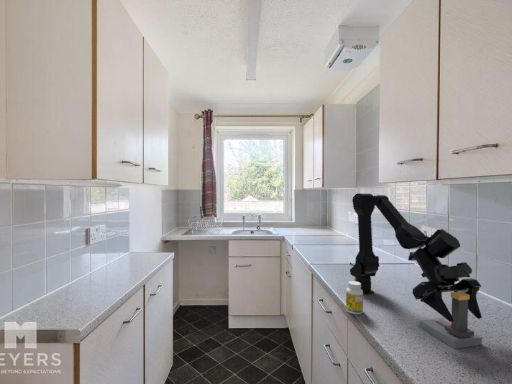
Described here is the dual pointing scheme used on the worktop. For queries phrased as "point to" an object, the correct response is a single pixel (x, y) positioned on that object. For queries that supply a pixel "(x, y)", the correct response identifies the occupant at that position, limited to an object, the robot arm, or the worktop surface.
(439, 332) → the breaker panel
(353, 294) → the supplement bottle
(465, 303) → the breaker handle
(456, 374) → the worktop surface
